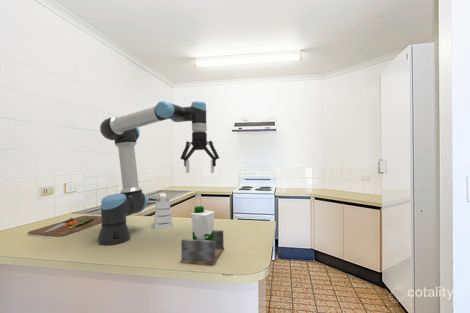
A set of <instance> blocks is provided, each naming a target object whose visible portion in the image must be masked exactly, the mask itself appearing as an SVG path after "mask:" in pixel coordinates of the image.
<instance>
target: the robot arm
mask: <svg viewBox="0 0 470 313" xmlns="http://www.w3.org/2000/svg"><path fill="white" fill-rule="evenodd" d="M190 105H191V106H180V105H178V104H174V103H171V102H170V101H165V100H161V101H158V103H156V105H155V106H152V107H149V108H145V109H142V110H139V111H135V112H132V113H128V114H124V115H121V116H111V117H109V118H106V119H104V120H103V121H102V122H101V123H100V126H99V130H100V133H101V135H102V137H104V138H105V139H107V140H110V141H114V146H116V147H117V149H118V158H119V168H120V175H121V185H122V190H121V191H120V192H119V193H114V194H110V195H106V196H104V197H103V198H102V199H101V201H100V202H101V203H100V210H101V211H100V213H101V214H100V216H101V220H102V223H101V228H100V231H99V234H98V237H97V244H99V245H102V246H111V245H117V244H121V243H125V242H128V241H129V240H130V239H131V232H130V230H129V228H128V225H127V217H128V216H131V215H134V214H135V215H137V214H139V213H141V212H142V211H144V210H145V209H146V207H147V205H148V197H147V195H146V194H145V193H144V192H143V189H142V188H141V187H140V186H139V177H138V170H137V159H136V151H135V146H136V145H137V141H138V139H139V137H140V134H141V132H140V129H139V128H141V127H145V126H148V125H150V124H151V125H152V124H154V123H158V122H162V121H166V120H171V121H172V122H175V123H184V122H191V131H192V133H191V141H188V140H187V141H186V142H185V147H184V150H183V151H182V153H181V156H180V160H183V164H184V165H183V166H184V167H185V173H186V174H189V173H190V160H189V159H190V157H191V156H192V155H193V153H194V152H195V151H203V150H204V152H205V153H207V155H208V156H209V157H210V158H211V159H210V174H214V173H215V167H216V165H217V163H216V162H217V161H216V160H218V159H220V156H219V154H218V152H217V150H216V148H215V146H214V142H213V141H212V140H209V141H208V138H207V137H208V134H207V128H208V127H207V111H208V110H207V104H206V102H204V101H199V100H195V101H192V102H191V104H190ZM207 145H208V146H209V147H210V150H211V151H212V152H211V151H210V150H209V148H208V147H207ZM190 147H191V148H190ZM189 149H190V150H189ZM188 151H189V152H188Z"/></svg>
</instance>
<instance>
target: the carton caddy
mask: <svg viewBox="0 0 470 313" xmlns="http://www.w3.org/2000/svg"><path fill="white" fill-rule="evenodd" d="M180 242H181V245H180V246H181V260H180V264H191V265H200V266H201V265H203V266H212V265H213V266H215V264H216V263H217V262H218V260H219V258H220V256H222V253H224V252H223V251H224V250H225V247H224V244H225V243H224V230H219V229H217V230H215V229H214V241H209V240H193V238H192V239H189V238H182V239H181V241H180ZM213 266H212V267H213Z"/></svg>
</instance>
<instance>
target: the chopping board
mask: <svg viewBox="0 0 470 313" xmlns="http://www.w3.org/2000/svg"><path fill="white" fill-rule="evenodd" d="M100 224H102V220H101V215H80V216H77V217H74V218H73V217H70V218H69V219H67V220H64V221H60V222H58V223H54V224H49V225H47V226H42V227H39V228H35V229H32V230H30V231H28V232H27V237H34V238H45V239H46V238H47V239H51V238H52V237H56V238H58V237H59V238H60V237H66V236H69V235H71V234H75V233H77V232H80V231H83V230H86V229H89V228H92V227H94V226H95V227H96V226H97V225H100Z"/></svg>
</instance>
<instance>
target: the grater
mask: <svg viewBox="0 0 470 313" xmlns="http://www.w3.org/2000/svg"><path fill="white" fill-rule="evenodd" d="M155 201H156V202H155V213H154V223H153V225H154V226H155V227H154V226H153V227H154V230H158V229H159V228H161V229H167V228H168V227H169V228H173V226H174V224H173V218H172V211H171V204H170V200H169V199H168V198H167V194H166V193H165V192H163V193H159V198H158V199H157V200H155ZM161 223H164V224H161ZM159 230H160V229H159Z"/></svg>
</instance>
